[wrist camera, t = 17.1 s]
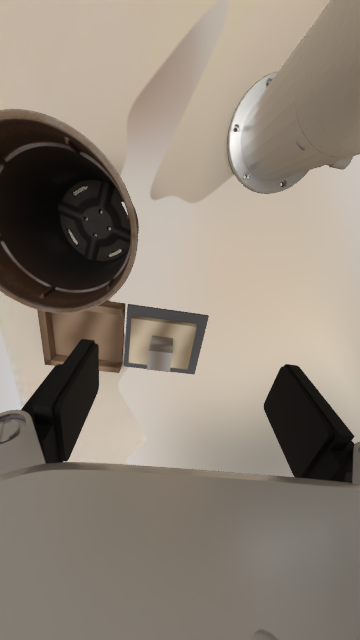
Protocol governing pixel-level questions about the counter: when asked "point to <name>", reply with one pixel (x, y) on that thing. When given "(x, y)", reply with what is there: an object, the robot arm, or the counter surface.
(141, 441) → the counter surface
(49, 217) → the plant pot
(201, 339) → the black mat
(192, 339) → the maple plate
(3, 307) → the counter surface
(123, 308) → the walnut box
